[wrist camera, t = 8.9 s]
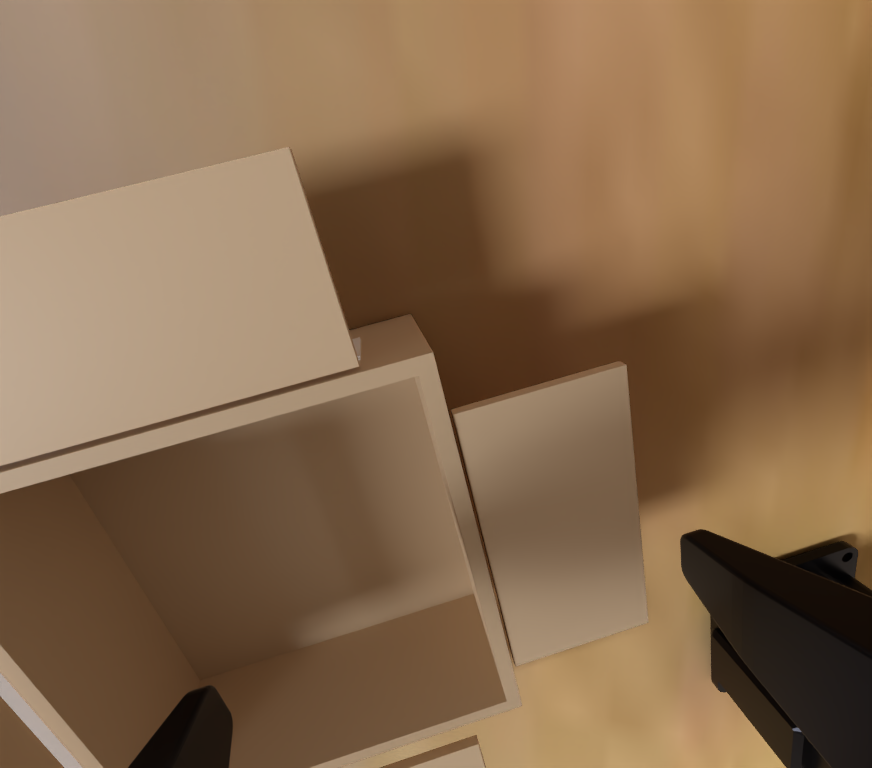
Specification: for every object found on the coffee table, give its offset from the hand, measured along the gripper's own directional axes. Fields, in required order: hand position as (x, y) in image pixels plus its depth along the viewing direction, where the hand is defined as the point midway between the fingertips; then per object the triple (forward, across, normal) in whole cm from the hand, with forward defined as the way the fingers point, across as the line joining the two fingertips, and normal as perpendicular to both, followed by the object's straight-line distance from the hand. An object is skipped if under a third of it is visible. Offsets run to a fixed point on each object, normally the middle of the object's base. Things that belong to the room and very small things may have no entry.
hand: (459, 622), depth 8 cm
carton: (+7, +2, -1) cm, 7 cm away
